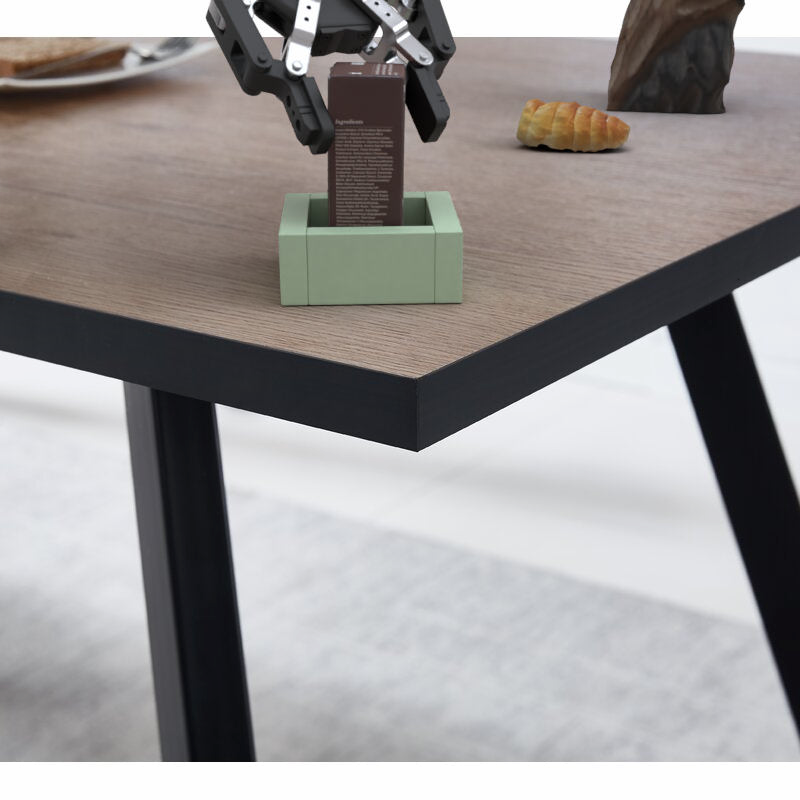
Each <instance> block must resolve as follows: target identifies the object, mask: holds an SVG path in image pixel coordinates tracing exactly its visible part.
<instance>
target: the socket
mask: <svg viewBox="0 0 800 800" xmlns="http://www.w3.org/2000/svg"><path fill="white" fill-rule="evenodd" d="M277 236H278V237H277V239H278V263H279V264H278V265H279V267H278V268H279V286H280V287H279V289H280V291H279V292H280V305H281V306H282V307H283V306H284V307H285V306H286V307H287V306H288V307H289V306H308V305H309V306H336V305H337V306H343V305H345V306H347V305H403V304H404V305H405V304H406V305H407V304H408V305H409V304H412V305H413V304H462V303H463V272H464V271H463V269H464V268H463V266H464V263H463V261H464V260H463V259H464V231H463V228H462V226H461V222H460V219H459V216H458V214H457V211H456V208H455V205H454V202H453V200H452V197H451V194H450V191H448V190H444V191H443V190H442V191H441V190H439V191H438V190H436V191H435V190H434V191H430V190H429V191H404V198H403V226H379V227H328V192H289V193H288V192H287V193H285V195H284V201H283V206H282V212H281V218H280V224H279V228H278V234H277Z"/></svg>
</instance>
